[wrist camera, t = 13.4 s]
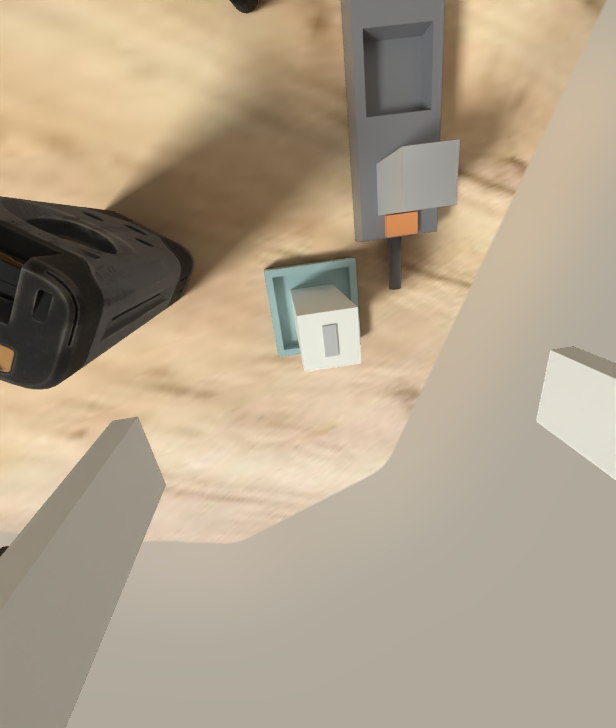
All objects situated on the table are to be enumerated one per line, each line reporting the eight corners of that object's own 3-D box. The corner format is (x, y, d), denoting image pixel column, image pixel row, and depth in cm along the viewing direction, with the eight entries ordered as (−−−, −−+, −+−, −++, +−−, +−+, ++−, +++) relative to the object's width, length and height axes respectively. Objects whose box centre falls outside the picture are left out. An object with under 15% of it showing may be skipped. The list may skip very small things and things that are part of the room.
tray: (264, 269, 32) (263, 271, 30) (351, 257, 32) (355, 258, 31) (278, 351, 36) (278, 357, 34) (356, 339, 36) (360, 344, 34)
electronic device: (199, 254, 31) (89, 287, 13) (178, 307, 33) (54, 405, 14) (100, 203, 29) (-215, 151, 10) (82, 263, 30) (-212, 312, 12)
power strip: (340, -4, 25) (373, -122, 17) (427, -13, 25) (502, -134, 17) (358, 290, 34) (385, 309, 26) (422, 281, 34) (469, 297, 26)
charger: (290, 289, 33) (296, 316, 22) (332, 283, 33) (358, 307, 22) (296, 330, 34) (304, 372, 24) (336, 324, 34) (361, 364, 24)
